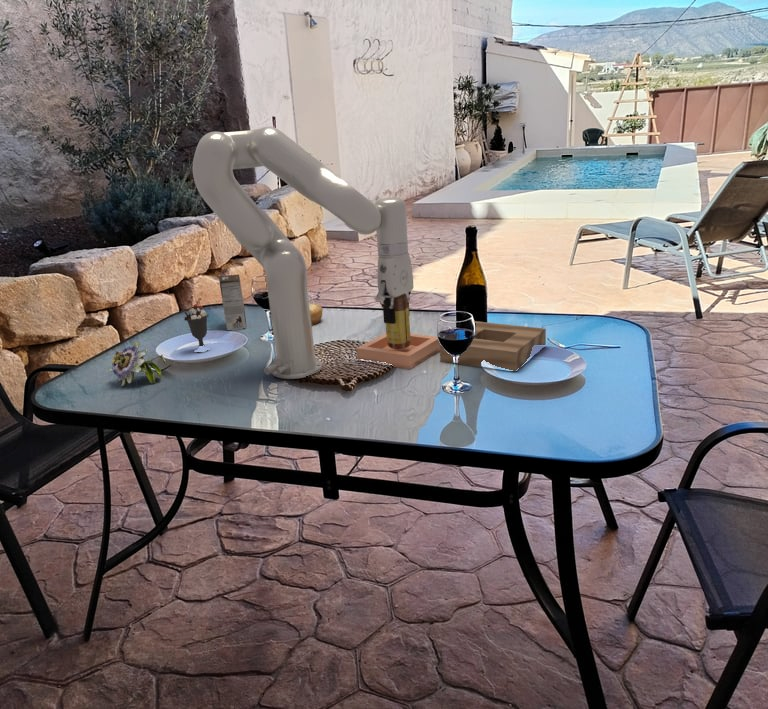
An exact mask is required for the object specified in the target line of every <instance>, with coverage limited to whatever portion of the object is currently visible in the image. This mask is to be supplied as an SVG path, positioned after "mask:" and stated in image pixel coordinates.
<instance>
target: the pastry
mask: <svg viewBox="0 0 768 709" xmlns="http://www.w3.org/2000/svg"><path fill="white" fill-rule="evenodd" d="M308 298H310V299H312V296H310V295H309V294H308ZM309 308H310V316H311V325H312V326H314V325H317V324H319V323H320V321H321V320H322V318H323V308H322V306H321V305H319V304H317V303H313V302H312V303H309Z"/></svg>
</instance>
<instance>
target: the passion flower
mask: <svg viewBox="0 0 768 709" xmlns="http://www.w3.org/2000/svg"><path fill="white" fill-rule="evenodd" d="M138 349H139V342H138V341H135V342H134V343H133V345H132V346H131V345H130V346H128V347H127V348H126V347H125V348H123V349H122V350H121V351H120V350H119V351H116V352H115V353H114V355H113V357H112V361H111V367H110V368H109V369H108V371H109V372H113V374H114V375H115V376H116V377H117V381H118V382H121V385H120V387H126V385H127V384H129V385H130V384H132V383H133V381H134V378H135V373H137V374H139V373H140V372H144V374H145V376H146V378H147V380H148V381H149V383H150V384H156V375H158V377H159V378H161V377H162V369H160V366H158V365H157V364H156V363H155V362H154V360H156V359H158V358H161V360H162V362H163V364H167V360H166V359H165V357H164V356H163V354H161V355H159V356H157V357H155V358H152V359H150V360H147V361H146V359H145V358H144V357H145V356H146V355H147V354H148V349H147V348H146V349H142V350H140V351H138ZM152 369H153V370H154V371H155V372H154V371H153V370H152ZM155 373H156V375H155Z"/></svg>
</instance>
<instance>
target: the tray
mask: <svg viewBox="0 0 768 709" xmlns="http://www.w3.org/2000/svg"><path fill="white" fill-rule="evenodd" d="M410 336H411V339H410V342H411V344H410V346H409V347H407V348H403V349H393V348H390V347H389V346H388V342H387V336H386V332H385V333H383V334H381V335H379V336H378V337H376V338H373V339H371V340H369V341H367V342H366V343H363V344H362V345H359V346H357V347H356V348H355V349H356V360H357V359H364V360H372V361H379V362H386V363H390V364H392V365H393V367H392V368H398V369H404V370H405V369H406V370H411V369H413V368H415V367H416V366H418V365H420V364H421V363H423V362H425V361H427V360H428V359H429V358H431V357H433V356H434V355H436V354H437V353H440V343H439V341H438V338H437V337H438V336H433V335H425V334H417V333H411V332H410Z"/></svg>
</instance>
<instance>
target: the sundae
mask: <svg viewBox="0 0 768 709" xmlns="http://www.w3.org/2000/svg"><path fill="white" fill-rule="evenodd" d="M201 300H202V297H201V298H200V297H199V298H198V300H197V302H196V303H195V304H193V306H192V307H190V308H189V309H188V313H187V312H186V311H184V314H185V316H184V321H185V322H186V321H187V323H188V326H189V330H190V332H191V335H192V336H193V337H194V338H195V339H196V340H198V347H199V346H203V345H204V346H205V344H204V340H203V339H204V338H205V337H206V336H207V332H208V327H207V325H208V324H207V322H208V321H207V320H208V319H207V318H209V314H207V312H206V310H204V309H203V306H202V305H201V302H200V301H201ZM198 303H199V305H198Z"/></svg>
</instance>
